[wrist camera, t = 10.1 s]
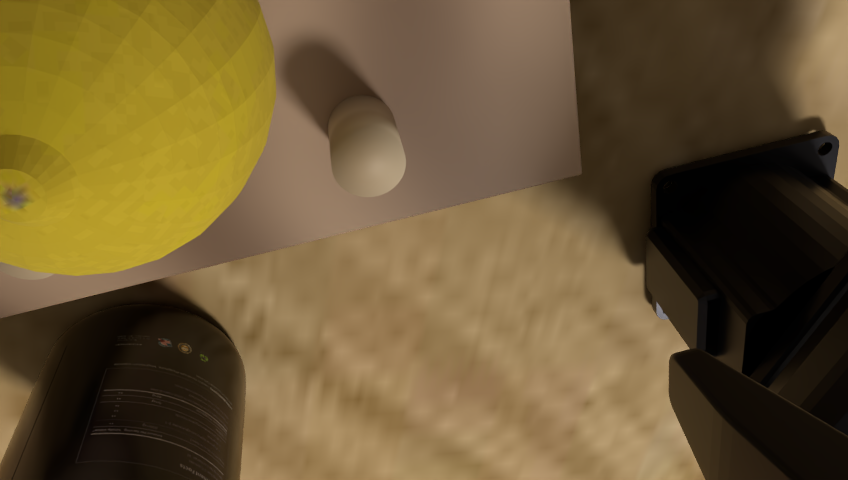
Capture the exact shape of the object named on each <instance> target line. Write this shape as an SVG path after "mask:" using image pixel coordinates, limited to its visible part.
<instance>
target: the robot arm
mask: <svg viewBox="0 0 848 480" xmlns="http://www.w3.org/2000/svg"><path fill="white" fill-rule="evenodd" d="M823 143H824V146H823V147H822V148H821V149H819V147H820V146H821V145H822V144H823ZM818 149H819V150H818ZM838 149H839V140H838V139H837V137H835V136H834V135H832V134H831V133H829V132H827V131H818V132H814V133H810V134H806V135H802V136H798V137H794V138H790V139H786V140H782V141H778V142H774V143H770V144H766V145H762V146H757V147H753V148H749V149H745V150H741V151H737V152H733V153H729V154H725V155H721V156H717V157H713V158H709V159H705V160H701V161H697V162H693V163H689V164H685V165H681V166H677V167H673V168H669V169H665V170H663V171H660V172H659V173H658V174H657V175H655V177H654V178H653V180H652V184H651V226H652V228H651V229H649V231H648V233H647V235H646V286H647V289H648V290H649V292H650V293H651V294H652V307H653V310H654V312H655V313H656V314H657V316H658V317H659V318H661V319H669V320H670V321H671V323H672V324H673V325H674V327H675V328H676V330H677V331H678V333H679V334H680V335H681V337H682V338H683V340H684V341H685V342H686V344H687V345H688V347H689V348H690V349H689V350H685V351H681V352H677V353H674V354H672V355H671V357H670V360H669V397H670V401H671V405H672V407H673V410H674V412H675V414H676V416H677V419H678V421H679V423H680V425H681V427H682V430H683V432H684V434H685V436H686V438H687V440H688V443H689V445H690V447H691V449H692V451H693V454H694V456H695V458H696V460H697V462H698V464H699V467H700V469H701V471H702V473H703V475H704V478H705V480H848V189H846V188H845V187H843V186H842V185H841V184H839V183H838V182H836V181H835V180H834V174H835V168H836V162H837V156H838ZM669 181H672V183H671V185H670V186H669V187H667V188H663V187H664V185H665V184H666V183H667V182H669Z"/></svg>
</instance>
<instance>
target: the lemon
mask: <svg viewBox="0 0 848 480" xmlns="http://www.w3.org/2000/svg"><path fill="white" fill-rule="evenodd" d="M275 100H276V77H275V60H274V47H273V43H272V40H271V37H270V34H269V31H268V28H267V25H266V22H265V19H264V16H263V13H262V10H261V7H260V4H259V1H258V0H0V262H3V263H6V264H10V265H13V266H17V267H20V268H24V269H27V270H31V271H34V272H42V273H52V274H62V275H72V276H80V275H92V274H103V273H114V272H118V271H123V270H126V269H129V268H132V267H136V266H139V265H142V264H145V263H148V262H152V261H155V260H158V259H160V258H162V257H164V256H165V255H167V254H169V253H171V252H172V251H174V250H176V249H177V248H179V247H181V246H182V245H184V244H186V243H187V242H189V241H191V240H192V239H194V238H196V237H197V236H199V235H201V234H202V233H203V232H204V231H205V230H206V229H207V228H208V227H209V226H210V225H211V224H212V223H213V222H214V221H215V220H216V219H217V218H218V217H219V216H220V215H221V214H222V213H223V211H224V210H225V209H226V208H227V207H228V206H229V205H230V204H231V203H232V202H233V201H234V200H235V199H236V198H237V196H238V195H239V194H240V192H241V191H242V189H243V187H244V186H245V184H246V182H247V180H248V178H249V176H250V174H251V173H252V171H253V169H254V167H255V165H256V163H257V161H258V159H259V158H260V156H261V154H262V152H263V150H264V147H265V145H266V142H267V137H268V133H269V128H270V123H271V119H272V114H273V109H274V105H275Z"/></svg>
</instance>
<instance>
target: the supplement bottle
mask: <svg viewBox="0 0 848 480" xmlns="http://www.w3.org/2000/svg"><path fill="white" fill-rule="evenodd" d="M245 395H246V376H245V369H244V365H243V362H242V359H241V357H240V355H239V353H238V351H237V349H236V348H235V346H234V345H233V343H232V342H231V341H230V340H229V338H228V337H227V336H226V335H225V334H224V333H223V332H222V331H220V330H219V329H218V328H217V327H215V326H214V325H213V324H211V323H210V322H208V321H206V320H205V319H203V318H201V317H199V316H197V315H195V314H192V313H190V312H187V311H184V310H181V309H178V308H174V307H169V306H163V305H156V304H132V305H123V306H117V307H113V308H109V309H105V310H102V311H99V312H97V313H95V314H92V315H90V316H88V317H86V318H84V319H82V320H81V321H79V322H77V323H76V324H75V325H73V326H72V327H71V328H69V329H68V330H67V331H66V332H65V333H64V334H63V335H62V336H61V337H60V338H59V339H58V341H57V342H56V343H55V345H54V346H53V348H52V350H51V351H50V353H49V355H48V357H47V359H46V361H45V364H44V366H43V368H42V370H41V372H40V374H39V376H38V379H37V381H36V383H35V386H34V388H33V390H32V392H31V395H30V397H29V399H28V402H27V404H26V406H25V409H24V411H23V413H22V415H21V418H20V420H19V422H18V425H17V427H16V429H15V432H14V434H13V436H12V438H11V441H10V443H9V445H8V448H7V450H6V452H5V455H4V457H3V459H2V462H1V464H0V480H240V471H241V457H242V442H243V428H244V413H245Z"/></svg>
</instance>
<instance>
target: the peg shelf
mask: <svg viewBox="0 0 848 480" xmlns="http://www.w3.org/2000/svg"><path fill="white" fill-rule="evenodd" d="M258 1H259V4H260V7H261V10H262V13H263V16H264V19H265V22H266V25H267V28H268V31H269V34H270V37H271V40H272V43H273V47H274V60H275V77H276V100H275V105H274V109H273V114H272V119H271V123H270V128H269V133H268V137H267V142H266V145H265V147H264V150H263V152H262V154H261V156H260V158H259V159H258V161H257V163H256V165H255V167H254V169H253V171H252V173H251V174H250V176H249V178H248V180H247V182H246V184H245V186H244V187H243V189H242V191H241V192H240V194H239V195H238V196H237V198H236V199H235V200H234V201H233V202H232V203H231V204H230V205H229V206H228V207H227V208H226V209H225V210H224V211H223V213H222V214H221V215H220V216H219V217H218V218H217V219H216V220H215V221H214V222H213V223H212V224H211V225H210V226H209V227H208V228H207V229H206V230H205V231H204V232H203V233H202V234H201V235H199V236H197V237H196V238H194V239H192V240H191V241H189V242H187V243H186V244H184V245H182V246H181V247H179V248H177V249H176V250H174V251H172V252H171V253H169V254H167V255H165V256H164V257H162V258H160V259H158V260H155V261H152V262H148V263H145V264H142V265H139V266H136V267H132V268H129V269H126V270H123V271H118V272H114V273H103V274H92V275H80V276H72V275H62V274H52V273H42V272H34V271H31V270H27V269H24V268H20V267H17V266H13V265H10V264H6V263H3V262H0V318H4V317H8V316H12V315H16V314H20V313H24V312H28V311H32V310H36V309H40V308H44V307H48V306H52V305H56V304H60V303H64V302H68V301H72V300H76V299H80V298H84V297H88V296H92V295H96V294H101V293H105V292H109V291H113V290H117V289H121V288H125V287H129V286H133V285H137V284H141V283H145V282H149V281H153V280H157V279H161V278H165V277H169V276H173V275H177V274H181V273H185V272H189V271H193V270H197V269H201V268H206V267H210V266H214V265H218V264H222V263H226V262H230V261H234V260H238V259H242V258H246V257H250V256H254V255H258V254H262V253H266V252H270V251H274V250H278V249H282V248H286V247H290V246H294V245H298V244H302V243H306V242H311V241H315V240H319V239H323V238H327V237H331V236H335V235H339V234H343V233H347V232H351V231H355V230H359V229H363V228H367V227H371V226H375V225H379V224H383V223H387V222H391V221H395V220H399V219H403V218H407V217H411V216H416V215H420V214H424V213H428V212H432V211H436V210H440V209H444V208H448V207H452V206H456V205H460V204H464V203H468V202H472V201H476V200H480V199H484V198H488V197H492V196H496V195H500V194H504V193H508V192H512V191H516V190H521V189H525V188H529V187H533V186H537V185H541V184H545V183H549V182H553V181H557V180H561V179H565V178H569V177H573V176H577V175H581V174H582V167H581V153H580V139H579V125H578V111H577V97H576V84H575V70H574V56H573V42H572V28H571V14H570V0H258Z"/></svg>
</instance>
